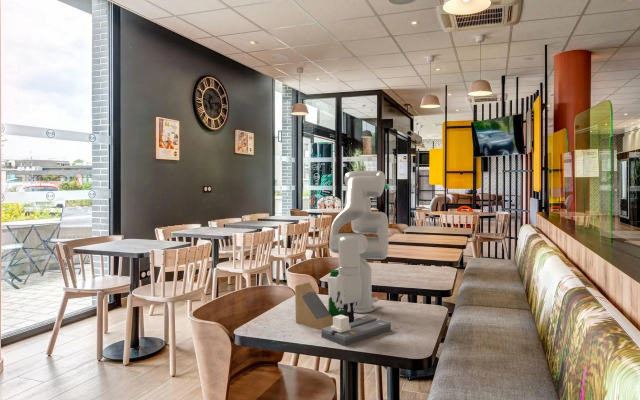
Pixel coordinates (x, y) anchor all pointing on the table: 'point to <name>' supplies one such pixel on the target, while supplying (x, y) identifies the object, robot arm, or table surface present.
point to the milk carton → (333, 294)
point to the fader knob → (340, 323)
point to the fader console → (357, 330)
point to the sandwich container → (311, 308)
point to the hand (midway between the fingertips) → (349, 321)
